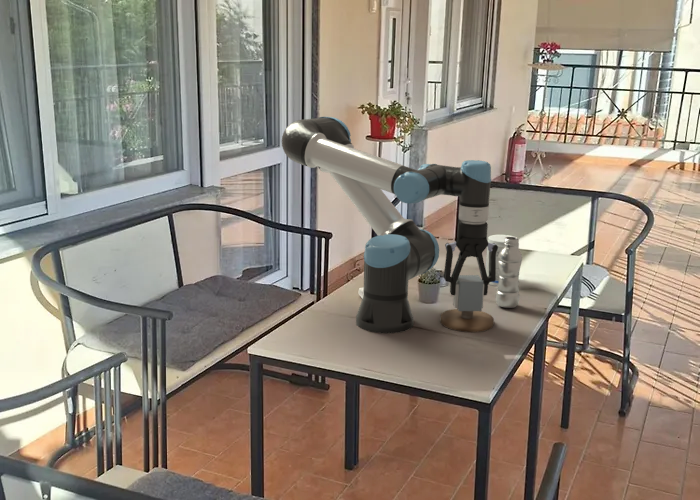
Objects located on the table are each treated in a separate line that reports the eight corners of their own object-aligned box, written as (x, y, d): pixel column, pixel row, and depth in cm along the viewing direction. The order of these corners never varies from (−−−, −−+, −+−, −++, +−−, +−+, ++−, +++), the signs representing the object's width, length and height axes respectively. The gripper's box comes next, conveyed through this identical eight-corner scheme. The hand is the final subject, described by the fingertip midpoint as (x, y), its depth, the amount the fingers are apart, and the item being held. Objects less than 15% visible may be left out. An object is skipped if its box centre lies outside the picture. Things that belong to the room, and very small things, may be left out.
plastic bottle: (518, 311, 220) (524, 241, 215) (494, 309, 221) (499, 240, 216) (518, 304, 226) (524, 236, 221) (494, 302, 227) (499, 234, 222)
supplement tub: (489, 277, 251) (493, 232, 248) (519, 282, 247) (523, 236, 244) (480, 285, 243) (483, 239, 239) (510, 290, 239) (514, 243, 235)
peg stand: (445, 332, 203) (447, 289, 200) (436, 313, 216) (438, 273, 213) (499, 331, 204) (502, 289, 201) (486, 313, 217) (489, 273, 214)
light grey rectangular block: (458, 311, 206) (460, 281, 204) (454, 303, 212) (455, 275, 210) (481, 311, 206) (483, 281, 204) (476, 303, 212) (478, 275, 210)
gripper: (439, 224, 199) (434, 311, 205) (513, 224, 200) (506, 311, 206) (434, 217, 206) (429, 302, 212) (505, 218, 207) (499, 301, 213)
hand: (467, 306), depth 209 cm, fingers closed on light grey rectangular block, 6 cm apart
